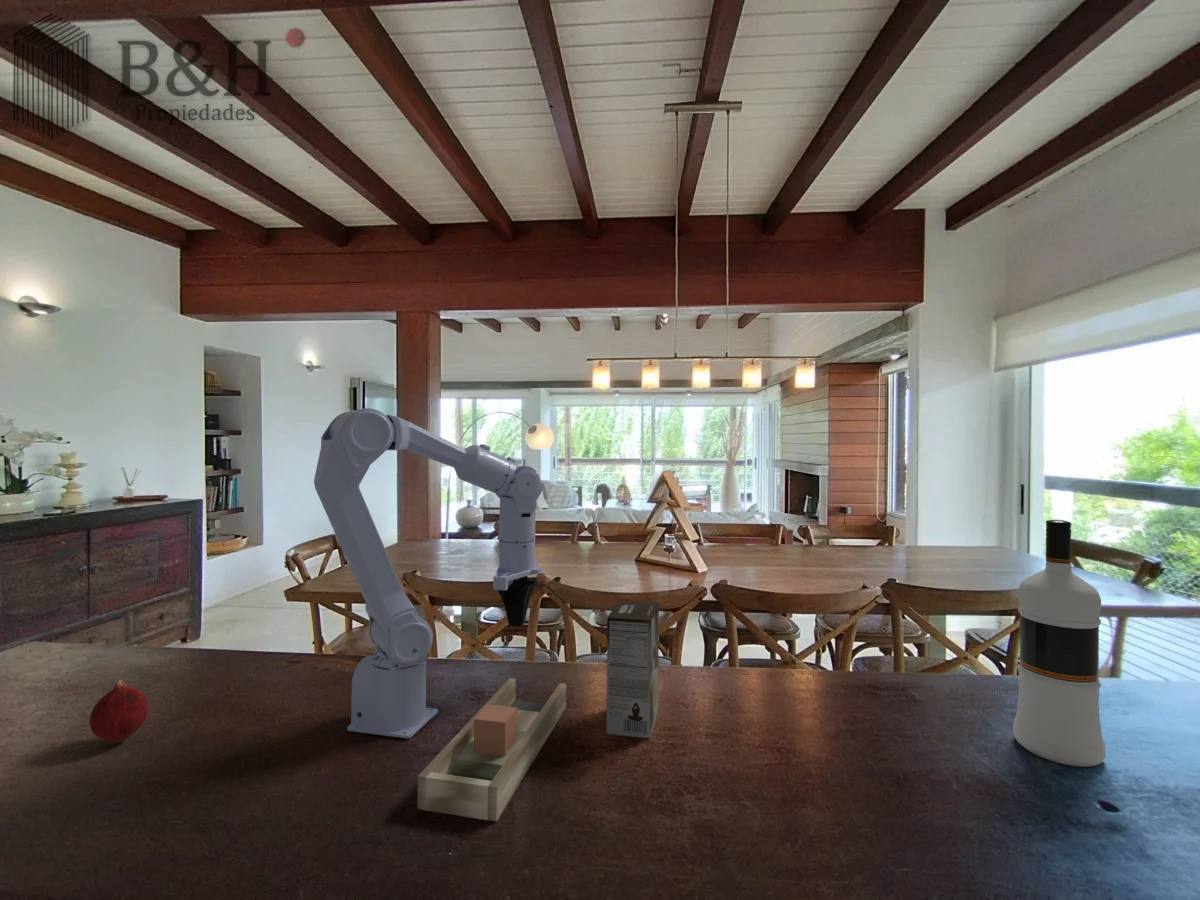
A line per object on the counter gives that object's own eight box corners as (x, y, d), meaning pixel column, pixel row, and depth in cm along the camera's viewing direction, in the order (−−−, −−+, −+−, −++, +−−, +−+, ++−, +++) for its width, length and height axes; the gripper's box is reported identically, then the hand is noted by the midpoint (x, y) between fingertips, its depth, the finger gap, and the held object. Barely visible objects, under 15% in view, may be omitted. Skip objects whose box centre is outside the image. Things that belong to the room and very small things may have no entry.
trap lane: (417, 809, 59) (417, 776, 59) (509, 701, 85) (509, 678, 85) (496, 821, 57) (496, 787, 57) (566, 707, 83) (566, 683, 83)
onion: (157, 737, 73) (158, 676, 73) (104, 759, 68) (105, 693, 68) (133, 727, 76) (134, 669, 76) (79, 748, 71) (80, 685, 71)
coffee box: (616, 705, 84) (617, 598, 84) (659, 709, 83) (660, 601, 83) (605, 735, 75) (606, 616, 75) (652, 740, 74) (653, 619, 74)
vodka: (996, 737, 75) (997, 516, 76) (1045, 728, 78) (1046, 515, 78) (1071, 776, 67) (1072, 525, 67) (1124, 764, 69) (1125, 523, 69)
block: (473, 752, 67) (474, 718, 67) (487, 735, 71) (487, 704, 71) (505, 756, 66) (505, 722, 66) (516, 739, 70) (517, 707, 70)
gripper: (525, 548, 81) (524, 641, 81) (554, 534, 95) (553, 613, 95) (480, 546, 83) (479, 637, 83) (515, 533, 97) (514, 611, 97)
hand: (516, 624), depth 89 cm, fingers closed
